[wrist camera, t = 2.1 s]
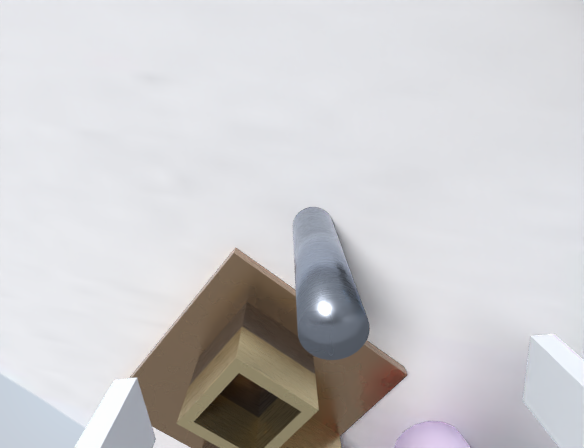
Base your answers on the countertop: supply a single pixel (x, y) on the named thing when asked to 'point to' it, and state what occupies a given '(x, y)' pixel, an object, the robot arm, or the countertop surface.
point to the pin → (325, 290)
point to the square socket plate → (255, 370)
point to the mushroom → (431, 436)
